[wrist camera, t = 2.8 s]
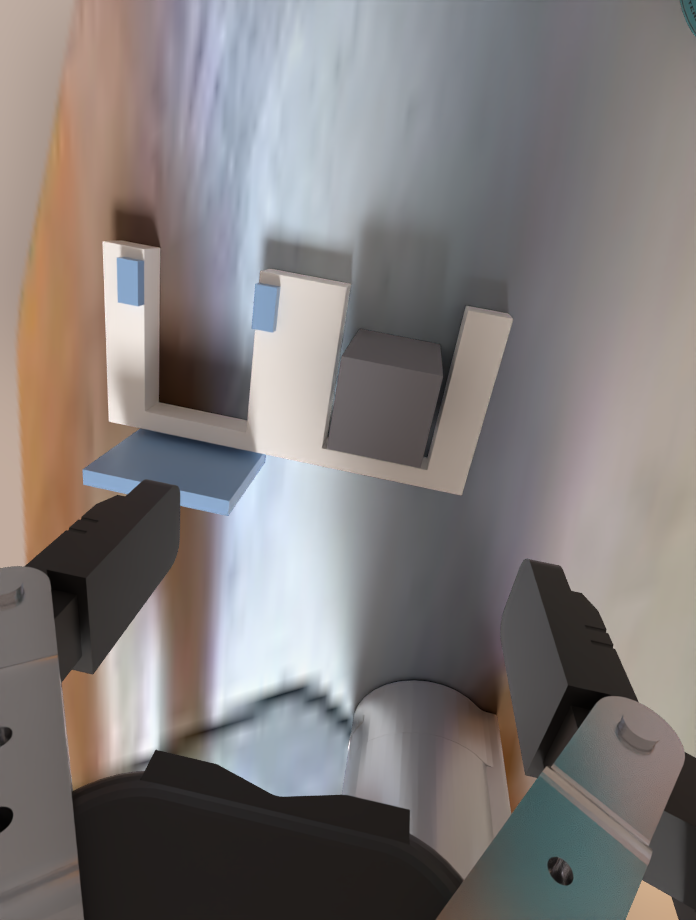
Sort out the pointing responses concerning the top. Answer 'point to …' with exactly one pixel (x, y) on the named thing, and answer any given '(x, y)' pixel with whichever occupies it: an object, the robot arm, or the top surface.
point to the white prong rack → (268, 391)
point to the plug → (386, 397)
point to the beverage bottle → (689, 13)
